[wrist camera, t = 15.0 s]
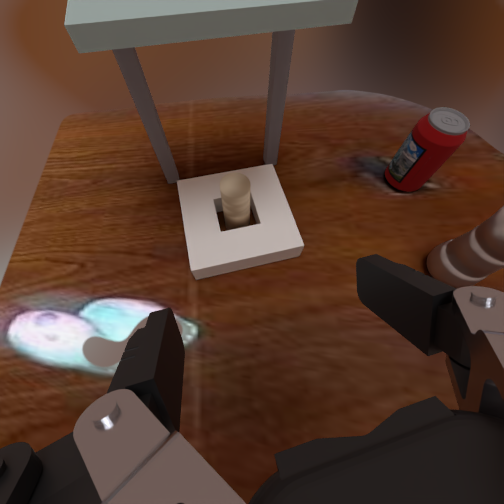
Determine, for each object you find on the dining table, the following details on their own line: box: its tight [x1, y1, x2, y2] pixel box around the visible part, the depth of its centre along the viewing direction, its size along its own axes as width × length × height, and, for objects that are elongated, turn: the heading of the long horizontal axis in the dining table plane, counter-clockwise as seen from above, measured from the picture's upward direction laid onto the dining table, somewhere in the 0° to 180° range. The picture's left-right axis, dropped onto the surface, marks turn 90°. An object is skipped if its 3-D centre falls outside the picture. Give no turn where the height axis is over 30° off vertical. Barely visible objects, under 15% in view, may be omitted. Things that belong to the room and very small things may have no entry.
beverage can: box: [385, 107, 470, 192], centre depth 40 cm, size 7×7×12 cm
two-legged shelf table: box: [64, 0, 358, 184], centre depth 31 cm, size 14×20×26 cm
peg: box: [220, 173, 251, 230], centre depth 36 cm, size 4×4×10 cm
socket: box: [177, 164, 304, 280], centre depth 39 cm, size 16×16×4 cm
